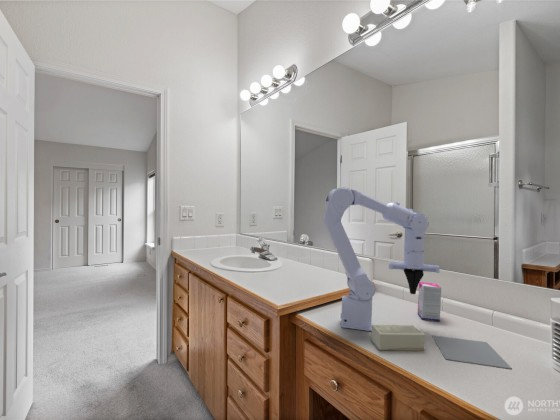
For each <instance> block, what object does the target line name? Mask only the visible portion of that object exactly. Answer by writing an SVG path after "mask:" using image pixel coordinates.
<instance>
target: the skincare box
mask: <svg viewBox="0 0 560 420" xmlns="http://www.w3.org/2000/svg"><path fill="white" fill-rule="evenodd" d="M370 332H371V334H370V335H371V336H370V337H371V339H370V340H371V342H372V343H373V344H374V346H375V347H376V348H377V349H378V350H379V351H425V339H426V338H425V333H424V332H422V331H421V330H420V329H419V328H417V327H416V326H415V325H414V324H413V325H410V324H406V325H403V324H402V325H401V324H400V325H399V324H398V325H395V324H393V325H392V324H390V325H389V324H373V325H372V331H370Z"/></svg>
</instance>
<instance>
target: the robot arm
mask: <svg viewBox="0 0 560 420" xmlns="http://www.w3.org/2000/svg"><path fill="white" fill-rule="evenodd" d="M357 205H359V206H362V207H364V208H366V209H369V210H372V211H375V212H377V213H380V214H381V215H382V217H383V219H384V220H386V221H389V222H391V223H394V224H395V225H398V226H401V227H402V228H403V229H404V244H403V245H404V246H403V247H404V248H403V249H404V250H403V262H396V261H395V262H394V261H393V262H391V261H389V262H388V269H389V270H402V271H403V273H404V275H405V277H406V279H407V284H408V289H409V294H411V295H416V293H417V289H418V288H419V282H421V280H422V278H423V277H424V274H425V273H424V272H427V273H432V272H433V273H437V274H440V271H441V270H440V266H439V265H434V264H427V263H424V262H425V259H424V258H425V257H424V256H425V235H426V230H427V229H428V228H429V225H430V222H429V221H428V218H427V217H426V215H425V214H424V213H420V212H415V211H414V209H412V208H406V207H404V206H403V205H401V203H400V202H398V201H397V202H396V201H394V202H389V203H385V202H382V201H380V200H378V199H376V198H374V197H372V196H369V195H367V194H366V193H363V192H362V191H358V190H356V189H352V188H351V189H350V188H349V187H346V186H341V187H340V186H339V187H338V188H334V189H331V190H330V191H329V192H328V193H327V195H326V196H325V199H324V209H323V214H322V215H323V216H322V221H323V224H324V226H325V228H326V230H327V232H328V234H329V237H330V239H331V241H332V243H333V245H334V248H335V251H336V252H337V254H338V256H339V257H338V258H339V259H340V261H341V263H342V266H343V268H344V271H345V276H346V284H347V288H349V292H348V295H345V294H344V295H342V297H341V298H342V299H341V313H340V320H341V323H340V324H341V325H340V327H341V328H343V329H344V328H345V329H351V330H352V329H353V330H360V331H367V332H371V331H372V325H374V324H373V323H374V322H373V320H372V319H373V317H372V315H373V297H374V296H375V294H376V285H375V282H373V281H372V280H370V279H369V277H368V276H367V275H368V274H366V272H365V270H364V269H363V267H362V266H361V264H360V261H359V259H358V257H357V255H356V253H355V250H354V248H353V245H352V244H351V241H350V238H349V237H348V234H347V232H346V230H345V228H344V226H343V223H342V221H341V220H342V217H343V216H344V213H345V212H346V210H347V209H348V208H350V207H351V206H357Z"/></svg>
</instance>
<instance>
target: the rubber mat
mask: <svg viewBox="0 0 560 420" xmlns="http://www.w3.org/2000/svg"><path fill="white" fill-rule="evenodd" d="M431 337H432V338H433V340H434V342H435V344H436V346H437V347H438V350H440V353H441V354H442V356H443V357H444V359H445V361H454V362H461V363H467V364H473V365H474V364H475V365H479V366H487V367H495V368H501V369H506V370H507V369H508V370H513V368H512V367H511V365H510V364H508V362H506V361H505V359H503V357H502V356H501V355H500V354H499V353H498V352H497V351H496V350H495V349H494V348H493V347H492V346H491V345H490V344H489V343H488V342H487V341H479V340H473V339H465V338H457V337H449V336H441V335H436V334H435V335H433V334H432V335H431Z"/></svg>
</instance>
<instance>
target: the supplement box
mask: <svg viewBox="0 0 560 420" xmlns="http://www.w3.org/2000/svg"><path fill="white" fill-rule="evenodd" d="M417 297H418V300H417V315H418V316H419V318H420V319H421V320H423V321H432V320H433V321H432V322H441V307H442V306H441V303H442V302H441V301H442V287H441V286H440V285H438V284H437V283H434V282H433V283H432V282H422V281H420V282H419V284H418V296H417Z"/></svg>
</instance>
